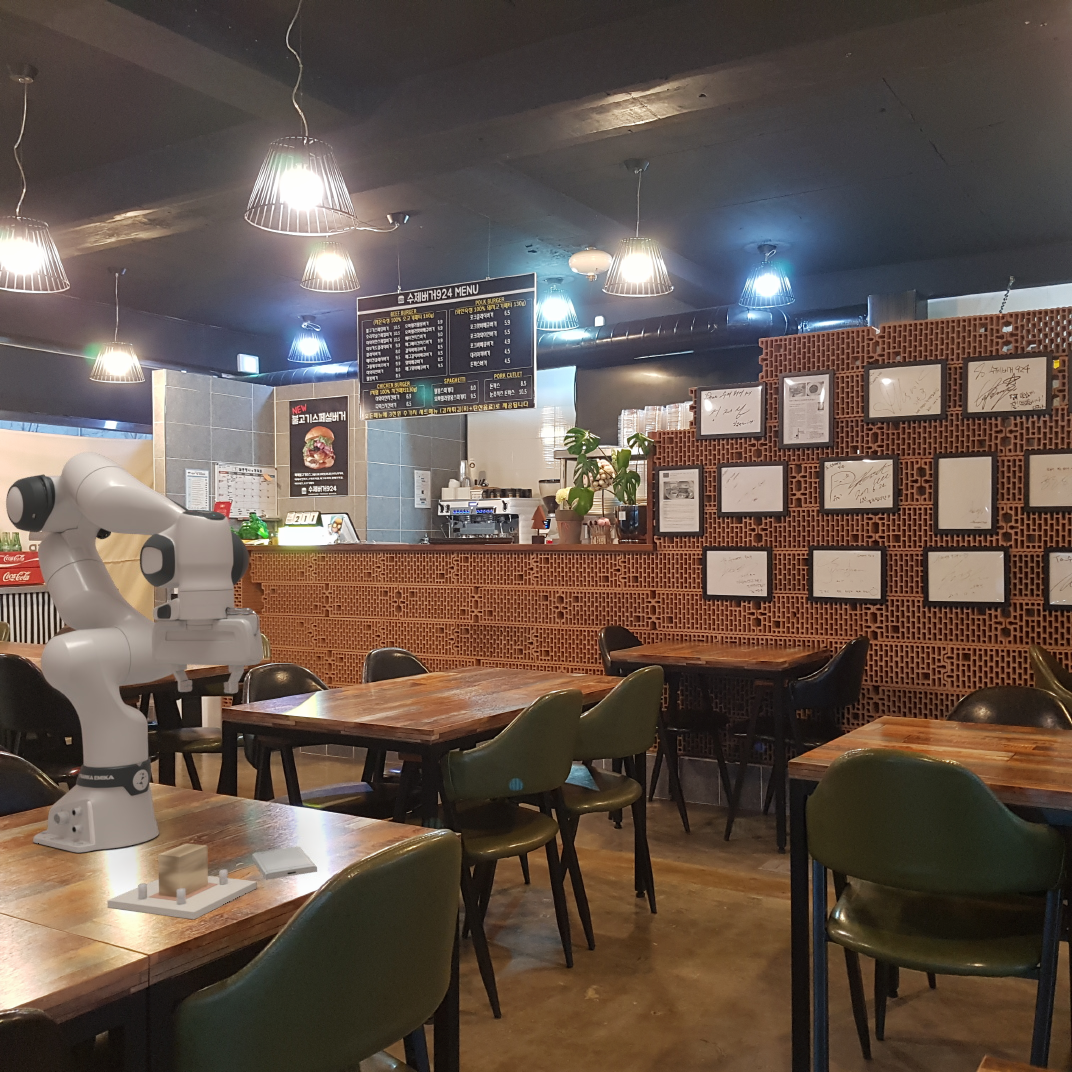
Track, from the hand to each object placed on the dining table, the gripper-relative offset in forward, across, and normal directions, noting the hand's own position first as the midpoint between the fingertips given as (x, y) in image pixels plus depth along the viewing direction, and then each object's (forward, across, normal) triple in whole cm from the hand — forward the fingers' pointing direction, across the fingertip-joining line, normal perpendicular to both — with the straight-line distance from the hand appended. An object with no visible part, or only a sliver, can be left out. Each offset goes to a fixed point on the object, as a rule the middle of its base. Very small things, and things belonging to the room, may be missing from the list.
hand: (207, 692), depth 164 cm
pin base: (+29, -5, +12) cm, 32 cm away
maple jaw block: (+28, -5, +12) cm, 31 cm away
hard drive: (+30, -10, -6) cm, 32 cm away
